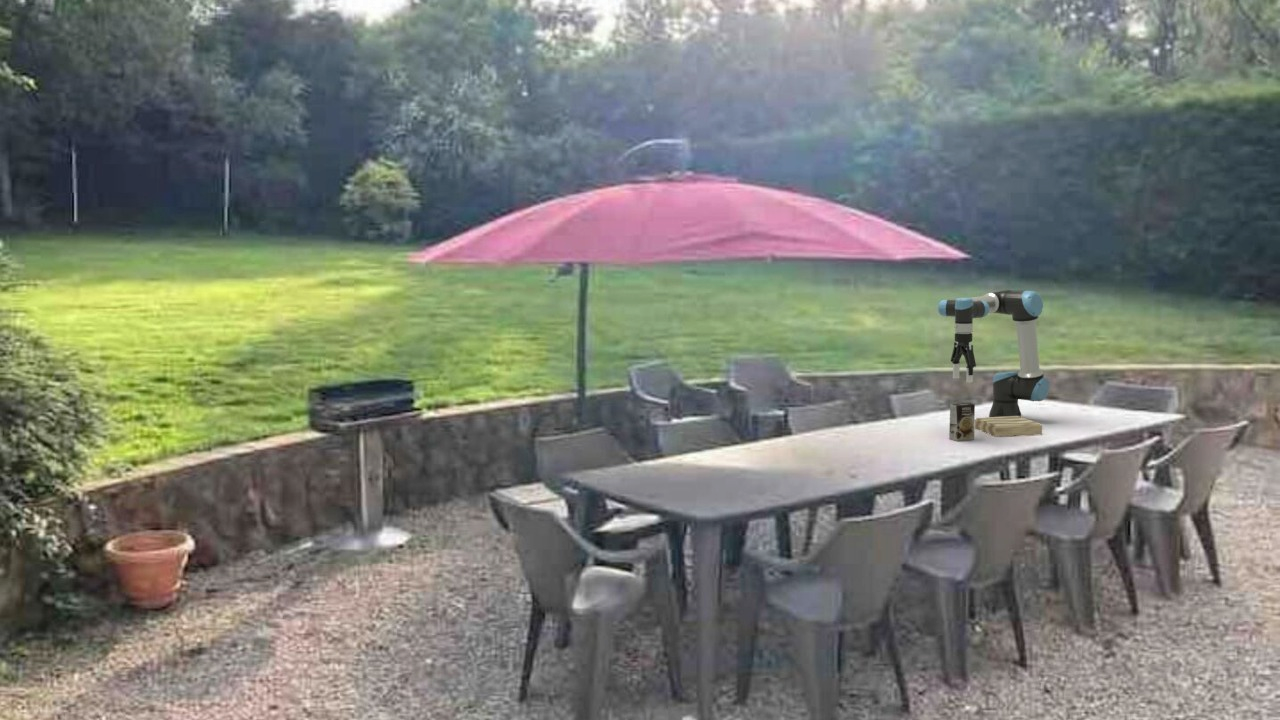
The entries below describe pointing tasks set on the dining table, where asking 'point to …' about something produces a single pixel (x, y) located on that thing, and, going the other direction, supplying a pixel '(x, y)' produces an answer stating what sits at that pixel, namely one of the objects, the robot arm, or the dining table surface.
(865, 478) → the dining table surface
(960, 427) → the coffee box
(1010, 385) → the robot arm
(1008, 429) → the stand
